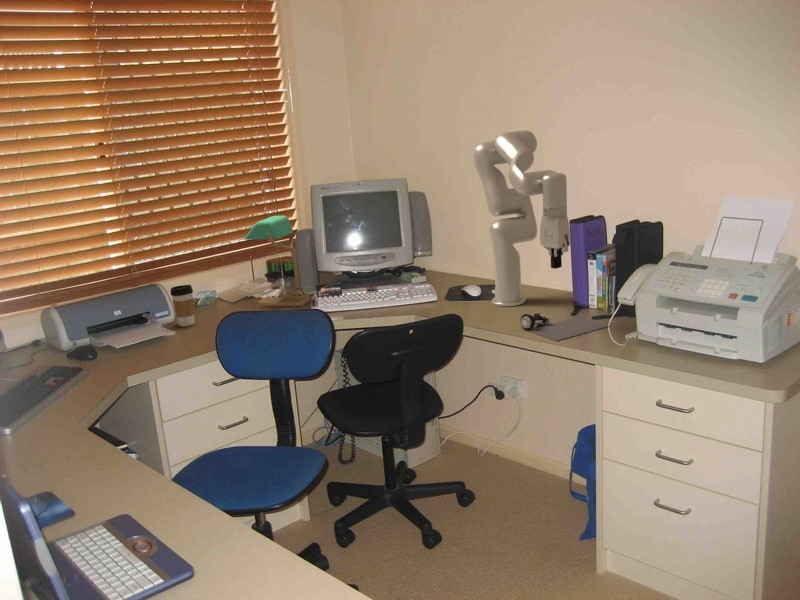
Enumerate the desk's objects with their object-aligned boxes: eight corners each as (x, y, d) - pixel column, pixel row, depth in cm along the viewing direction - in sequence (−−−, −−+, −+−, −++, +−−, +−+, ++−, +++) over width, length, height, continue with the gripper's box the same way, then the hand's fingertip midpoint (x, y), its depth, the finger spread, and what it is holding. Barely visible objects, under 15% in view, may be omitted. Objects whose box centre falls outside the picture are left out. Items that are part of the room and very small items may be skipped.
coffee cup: (188, 327, 294) (182, 289, 290) (170, 326, 297) (164, 288, 293) (202, 321, 301) (196, 283, 297) (185, 320, 305) (179, 283, 301)
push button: (554, 315, 259) (535, 319, 253) (550, 330, 261) (532, 334, 254) (538, 308, 264) (520, 312, 257) (535, 323, 266) (516, 326, 259)
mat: (527, 331, 256) (527, 330, 256) (578, 317, 266) (578, 316, 266) (556, 341, 244) (556, 340, 244) (608, 326, 254) (608, 325, 254)
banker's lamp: (298, 308, 308) (287, 221, 299) (251, 308, 314) (239, 222, 305) (314, 297, 322) (304, 214, 313) (269, 297, 329) (258, 215, 320)
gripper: (531, 211, 254) (532, 265, 259) (561, 216, 241) (562, 273, 246) (548, 208, 257) (550, 262, 262) (579, 213, 245) (580, 269, 250)
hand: (556, 267), depth 254 cm, fingers closed
